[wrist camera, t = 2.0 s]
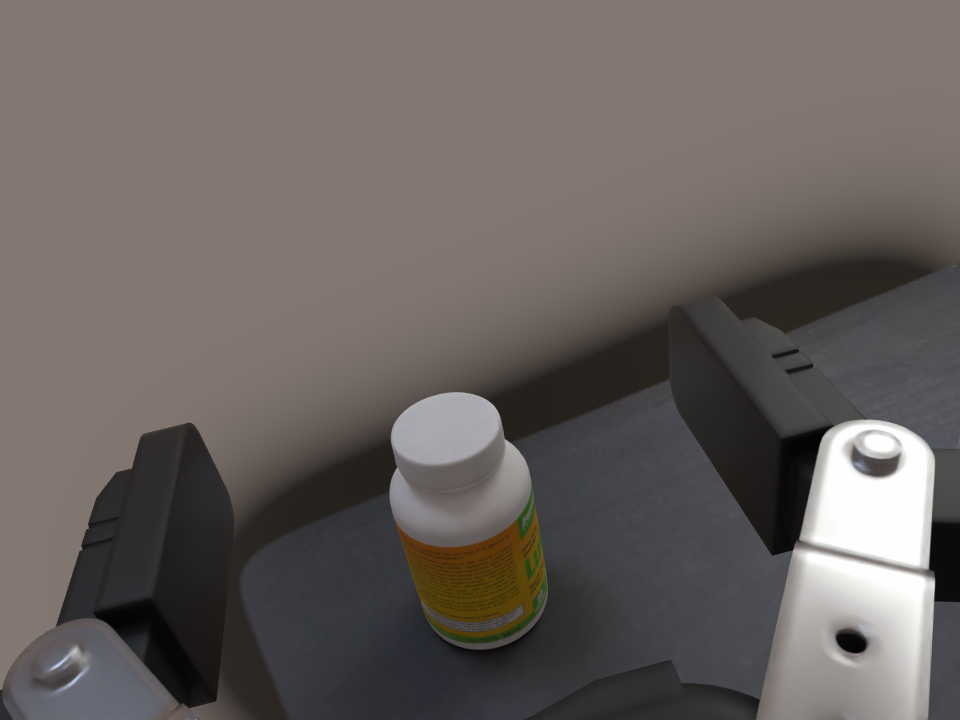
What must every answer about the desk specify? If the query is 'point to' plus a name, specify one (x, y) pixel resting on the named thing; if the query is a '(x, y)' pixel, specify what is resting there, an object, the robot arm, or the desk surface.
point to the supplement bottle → (467, 521)
